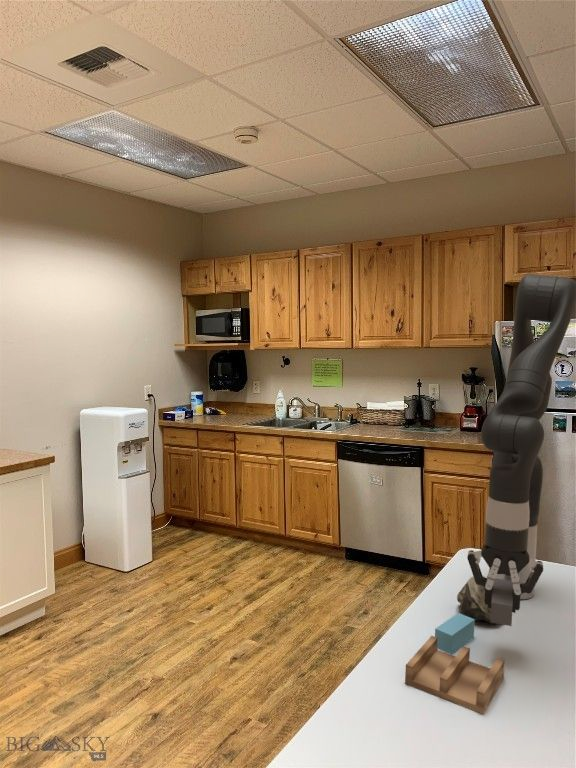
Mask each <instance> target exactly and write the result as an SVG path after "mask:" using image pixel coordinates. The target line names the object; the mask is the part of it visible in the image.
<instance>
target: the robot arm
mask: <svg viewBox="0 0 576 768" xmlns="http://www.w3.org/2000/svg"><path fill="white" fill-rule="evenodd" d="M516 292H517V293H516V297H515V308H514V320H513V332H512V333H513V334H512V341H511V342H512V344H511V350H510V351H511V353H510V357H509V363H508V369H507V374H506V380H505V384H504V387H503V391H502V393H501V395H500V396H499V398H498V400H497V401H496V403H495V405H494V406H493V407H492V408H491V410H490V412H489V413H488V414H487V416H486V418H485V419H484V421H483V424H482V426H481V431H480V432H481V433H480V438H481V441H482V443H483V446H484V447H485V448H486V449H488V450H489V451H492V452H493V457H492V461H491V468H490V470H489V471H490V472H489V482H488V483H489V484H488V497H487V502H486V507H485V508H486V510H485V511H486V512H485V525H484V526H485V527H484V543H483V546H482V547H481V550H477V551H474V550H472V549H471V550H469V551H468V552H467V556H466V557H467V561H468V564H469V568H470V570H471V572H472V575H473V576H474V579H475V582H476V584H477V585H482V586H483V587H484V588H485V600H484V602H485V604H486V605H488V608H491V603H492V593H493V583H494V580H495V578H497V579H503V580H509V581H512V583H513V595H512V597H513V607H512V614H513V613H514V614H516V611H519V610H520V609H521V600H529V599H531V598H532V597H533V596H534V593H535V592H534V591H535V590H534V589H535V586H536V585H537V583H538V581H539V580H540V578H541V575H542V574H543V572H544V563H543V562H542V560H536V559H537V542H538V541H537V540H538V522H539V513H540V504H541V495H542V494H541V493H542V488H543V480H544V479H543V475H544V469H543V464H542V460H541V457H539V456H538V455H539V453H540V450H541V449H542V445H543V442H544V440H545V430H544V427H543V424H542V423H541V422H540V421H539V420H540V419H541V418H542V417H543V416H544V415H545V413H546V411H547V410H548V407H549V400H550V396H551V390H552V385H553V380H552V376H551V369H552V367H553V363H554V362H555V359H556V356H557V355H558V352H559V349H560V348H561V345H562V343H563V341H564V338H565V335H566V333H567V330H568V327H569V325H570V323H571V320H572V317H573V314H574V310H575V308H576V280H575V279H572V278H569V277H563V276H553V275H543V274H542V275H541V274H531V273H530V274H526V275H524V276H523V277H521V280H520V281H519V284H518V287H517V291H516ZM532 321H535V322H544V323H550V324H549V326H548V328H547V329H546V330H545V331H544V332H543V333H542V334H541V336H539V337H538V338H537V339H535V338H534V334H533V330H532ZM481 558H483V560H484V561H485V563H486V565H487V566H488V568H489V570H488V573H487V576H486V577H485V576H483V573H482V571H481V567H480V565H479V564H480V563H481ZM473 576H472V577H473Z"/></svg>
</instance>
